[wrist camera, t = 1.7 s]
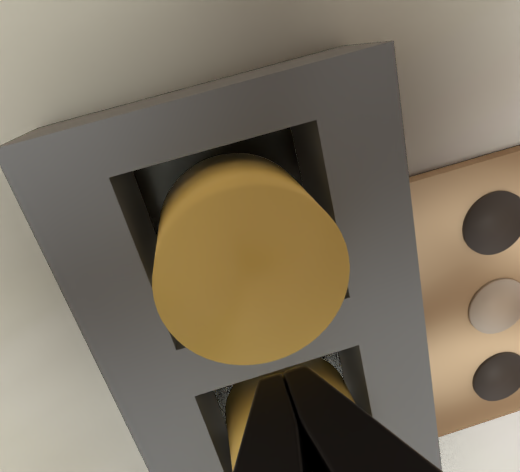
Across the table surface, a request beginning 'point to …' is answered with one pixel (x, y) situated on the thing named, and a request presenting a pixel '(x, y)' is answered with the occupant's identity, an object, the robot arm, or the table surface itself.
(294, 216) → the button
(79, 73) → the table surface
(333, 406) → the robot arm
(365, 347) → the board
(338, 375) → the button
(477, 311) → the card
